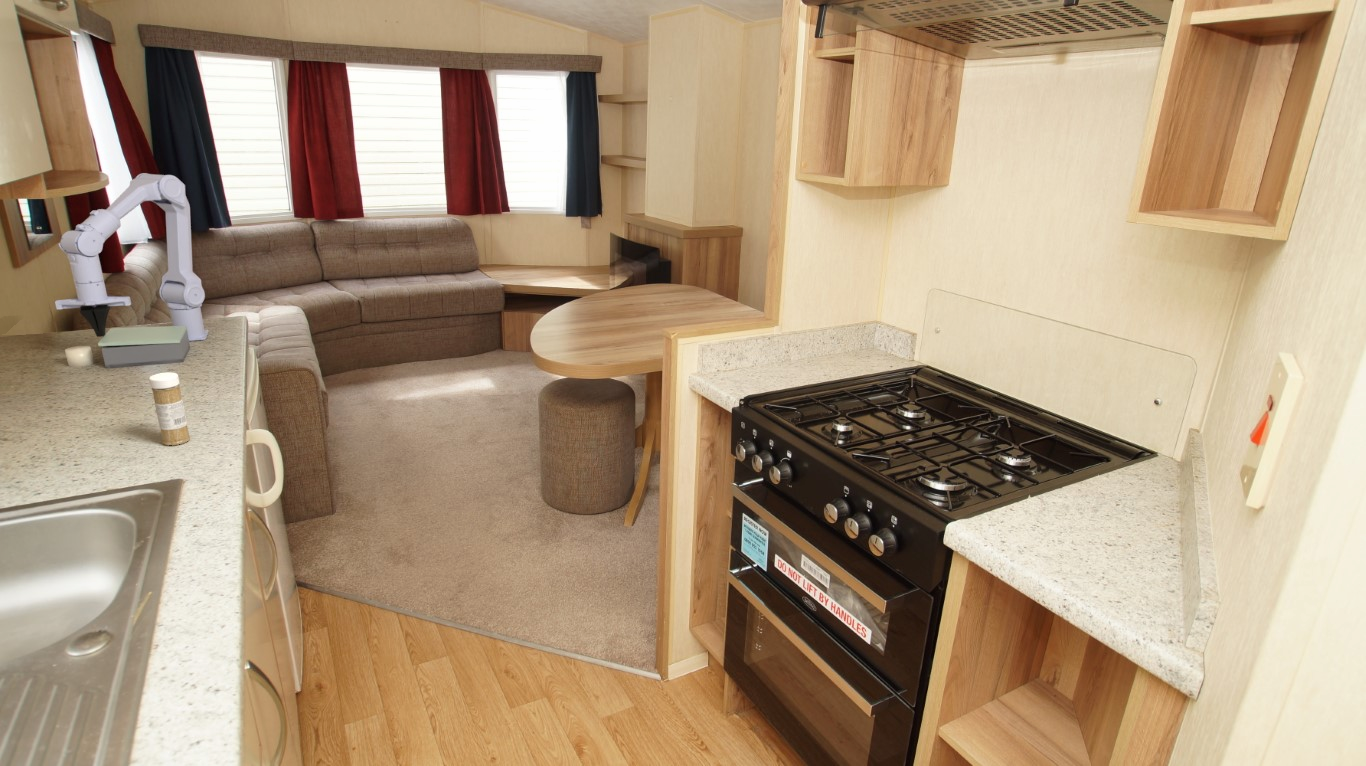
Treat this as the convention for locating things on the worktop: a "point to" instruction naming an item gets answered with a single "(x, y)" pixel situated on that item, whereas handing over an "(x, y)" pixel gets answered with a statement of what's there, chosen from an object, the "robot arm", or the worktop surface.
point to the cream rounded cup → (79, 356)
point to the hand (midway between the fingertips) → (101, 335)
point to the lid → (143, 335)
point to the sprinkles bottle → (169, 408)
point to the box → (145, 353)
